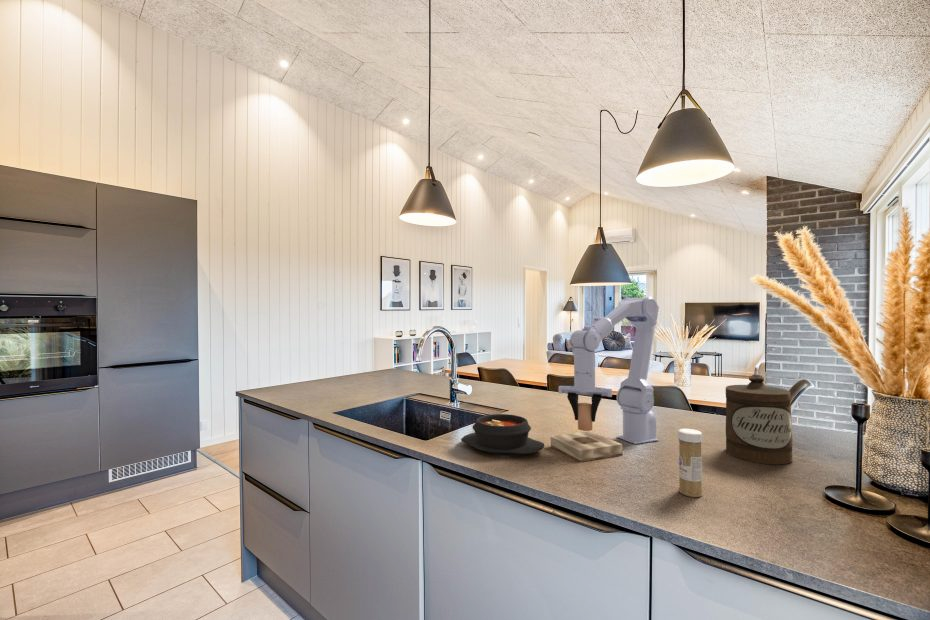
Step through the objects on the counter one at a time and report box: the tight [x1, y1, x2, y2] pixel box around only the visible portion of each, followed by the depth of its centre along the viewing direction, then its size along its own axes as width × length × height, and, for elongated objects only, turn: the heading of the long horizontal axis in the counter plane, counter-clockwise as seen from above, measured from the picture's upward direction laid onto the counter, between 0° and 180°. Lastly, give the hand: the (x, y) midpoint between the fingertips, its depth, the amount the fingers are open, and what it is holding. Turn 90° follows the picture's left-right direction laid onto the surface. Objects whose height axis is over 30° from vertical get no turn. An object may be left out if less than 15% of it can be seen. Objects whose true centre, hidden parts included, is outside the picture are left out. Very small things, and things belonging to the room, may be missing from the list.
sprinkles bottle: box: [677, 428, 703, 498], centre depth 90 cm, size 5×5×14 cm
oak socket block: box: [550, 431, 624, 463], centre depth 118 cm, size 14×14×3 cm
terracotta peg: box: [577, 402, 593, 432], centre depth 118 cm, size 4×4×7 cm
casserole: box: [460, 413, 545, 455], centre depth 121 cm, size 25×19×8 cm
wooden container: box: [725, 373, 793, 465], centre depth 114 cm, size 15×15×22 cm
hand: (585, 420), depth 118 cm, fingers closed on terracotta peg, 4 cm apart
